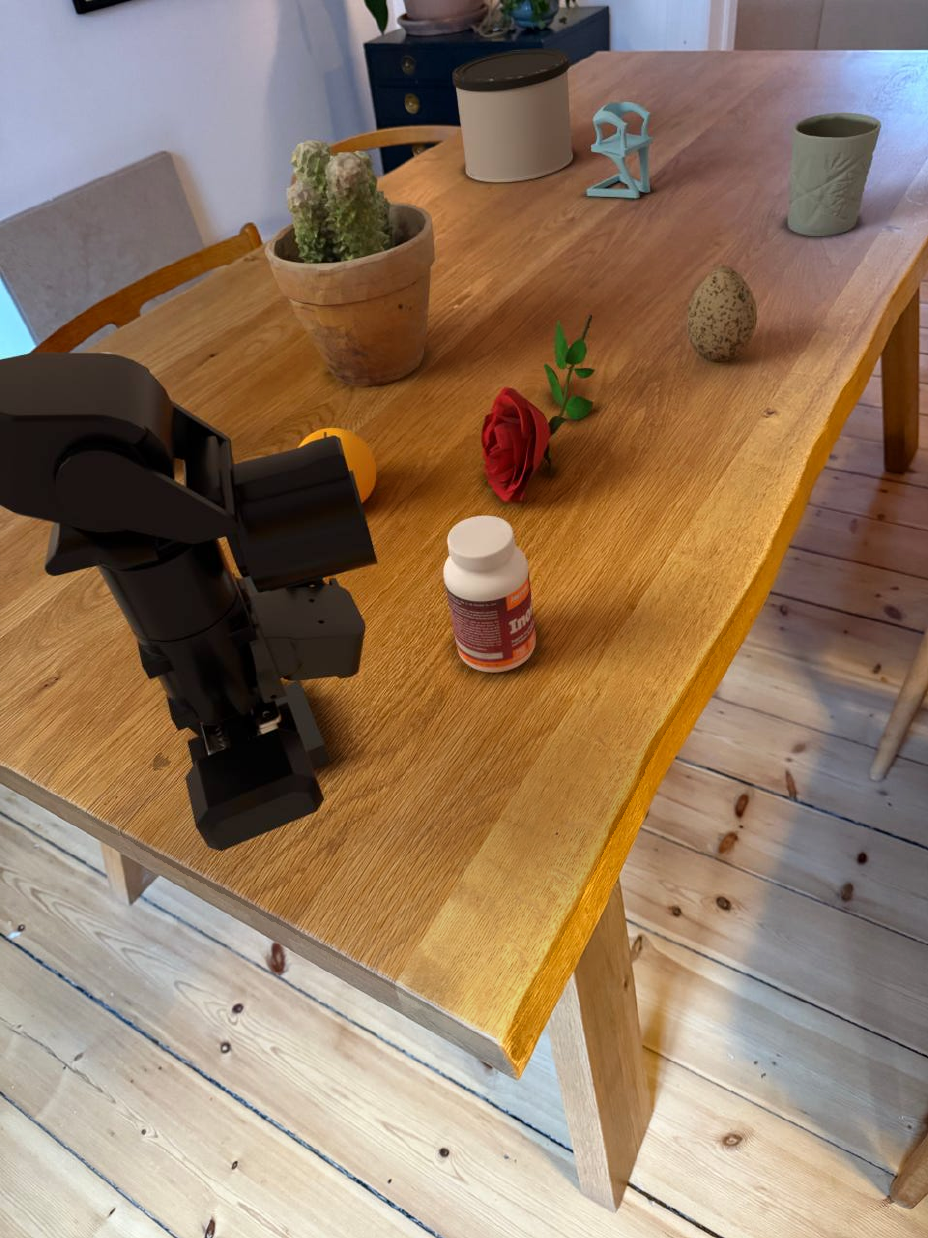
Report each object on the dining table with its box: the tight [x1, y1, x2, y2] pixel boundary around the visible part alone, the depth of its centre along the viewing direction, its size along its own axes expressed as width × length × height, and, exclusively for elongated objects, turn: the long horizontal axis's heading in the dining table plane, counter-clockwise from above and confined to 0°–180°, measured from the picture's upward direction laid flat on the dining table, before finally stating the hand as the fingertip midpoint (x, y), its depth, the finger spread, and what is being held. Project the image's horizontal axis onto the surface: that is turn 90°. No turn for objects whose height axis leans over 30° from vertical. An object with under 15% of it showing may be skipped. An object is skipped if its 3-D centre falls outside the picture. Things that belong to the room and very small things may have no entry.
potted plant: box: [264, 139, 436, 388], centre depth 98 cm, size 18×19×25 cm
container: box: [451, 48, 574, 183], centre depth 149 cm, size 19×19×15 cm
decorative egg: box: [685, 265, 758, 362], centre depth 93 cm, size 7×7×10 cm
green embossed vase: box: [787, 112, 882, 237], centre depth 114 cm, size 10×10×12 cm
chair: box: [586, 101, 654, 199], centre depth 133 cm, size 8×8×12 cm
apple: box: [297, 427, 377, 504], centre depth 84 cm, size 8×8×8 cm
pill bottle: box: [442, 515, 537, 673], centre depth 66 cm, size 6×6×11 cm
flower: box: [480, 314, 596, 503], centre depth 89 cm, size 9×9×30 cm
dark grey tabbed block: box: [275, 680, 332, 770], centre depth 65 cm, size 8×10×2 cm
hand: (269, 783), depth 57 cm, fingers closed
